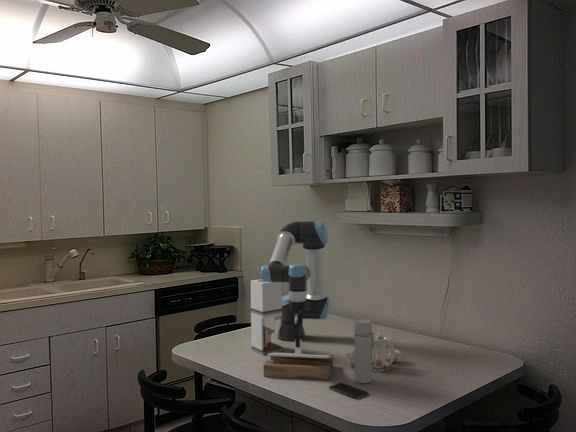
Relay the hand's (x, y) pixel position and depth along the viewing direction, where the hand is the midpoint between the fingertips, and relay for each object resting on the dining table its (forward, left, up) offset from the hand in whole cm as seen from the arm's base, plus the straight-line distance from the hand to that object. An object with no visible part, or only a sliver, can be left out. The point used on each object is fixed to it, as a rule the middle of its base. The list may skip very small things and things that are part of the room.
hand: (298, 353), depth 223 cm
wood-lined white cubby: (-30, -21, -9) cm, 37 cm away
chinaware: (-14, +34, -9) cm, 37 cm away
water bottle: (+5, +29, -9) cm, 31 cm away
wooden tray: (-2, 0, -8) cm, 9 cm away
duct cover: (-2, 0, -2) cm, 3 cm away
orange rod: (-5, 0, -7) cm, 9 cm away
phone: (+18, +23, -9) cm, 31 cm away
